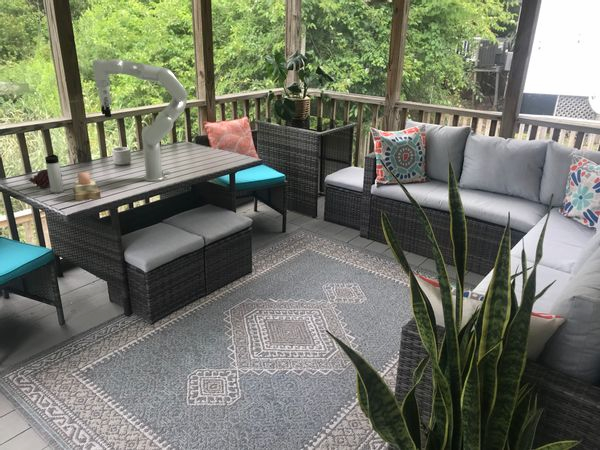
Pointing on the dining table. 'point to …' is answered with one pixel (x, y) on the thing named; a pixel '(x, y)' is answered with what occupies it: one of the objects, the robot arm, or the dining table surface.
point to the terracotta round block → (84, 178)
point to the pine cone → (41, 179)
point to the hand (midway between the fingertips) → (106, 115)
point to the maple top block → (85, 187)
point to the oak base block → (86, 195)
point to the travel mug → (54, 174)
